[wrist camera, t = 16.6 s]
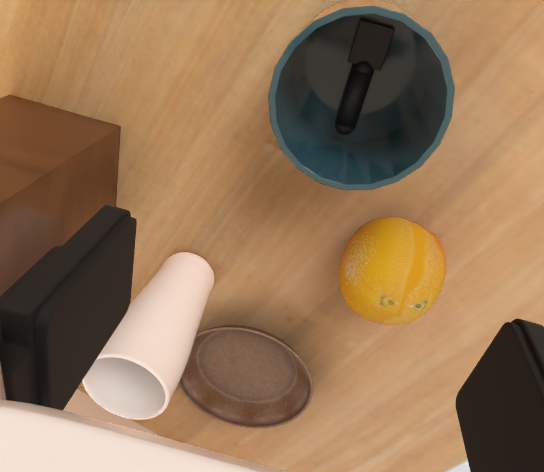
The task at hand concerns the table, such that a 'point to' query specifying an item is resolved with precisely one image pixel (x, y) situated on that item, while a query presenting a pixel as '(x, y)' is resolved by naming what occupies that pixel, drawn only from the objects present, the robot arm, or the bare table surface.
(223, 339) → the saucer
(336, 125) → the dark grey mallet
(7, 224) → the stand
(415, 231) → the fruit
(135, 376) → the tall white cup
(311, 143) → the tumbler
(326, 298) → the table surface
